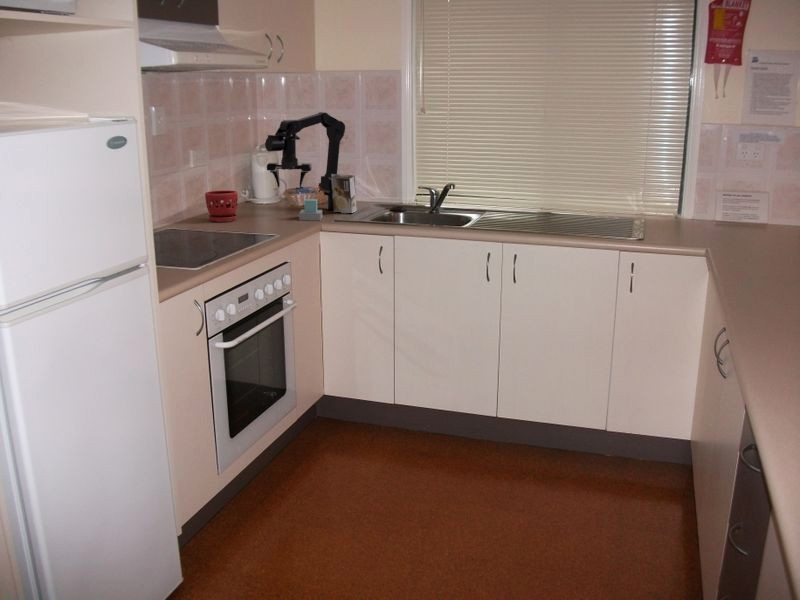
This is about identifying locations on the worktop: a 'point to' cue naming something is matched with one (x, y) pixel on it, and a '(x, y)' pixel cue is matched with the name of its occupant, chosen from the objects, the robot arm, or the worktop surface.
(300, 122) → the robot arm
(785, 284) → the worktop surface
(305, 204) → the teal cube
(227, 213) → the plant pot
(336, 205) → the coffee box
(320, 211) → the stone plinth
